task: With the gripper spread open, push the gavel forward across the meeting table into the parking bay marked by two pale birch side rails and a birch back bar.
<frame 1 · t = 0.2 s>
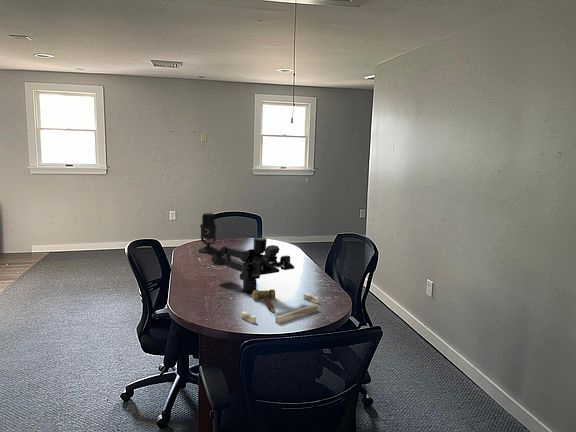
hand: (286, 269, 204), 17 cm above the table, tool horizontal, fingers open, 9 cm apart
gavel: (267, 306, 206), on the table
wooden bars: (281, 310, 200), on the table
microphone: (208, 251, 307), on the table
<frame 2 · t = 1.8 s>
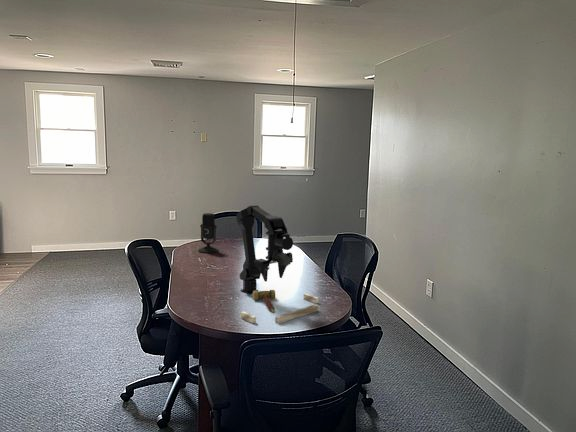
hand: (273, 279, 207), 11 cm above the table, tool pointing down, fingers open, 9 cm apart
nothing on the table moved.
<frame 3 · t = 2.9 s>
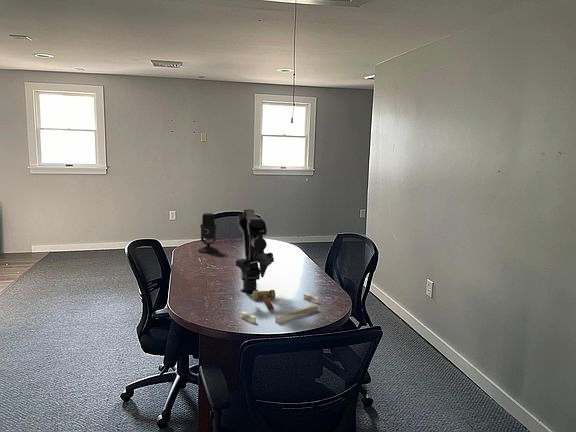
hand: (254, 279, 212), 10 cm above the table, tool pointing down, fingers open, 9 cm apart
nothing on the table moved.
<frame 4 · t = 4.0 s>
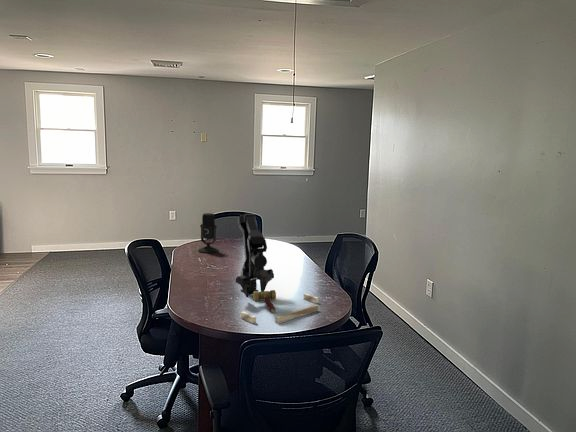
hand: (254, 295, 212), 2 cm above the table, tool pointing down, fingers open, 9 cm apart
gavel: (268, 306, 206), on the table, touching gripper
everything else where it was.
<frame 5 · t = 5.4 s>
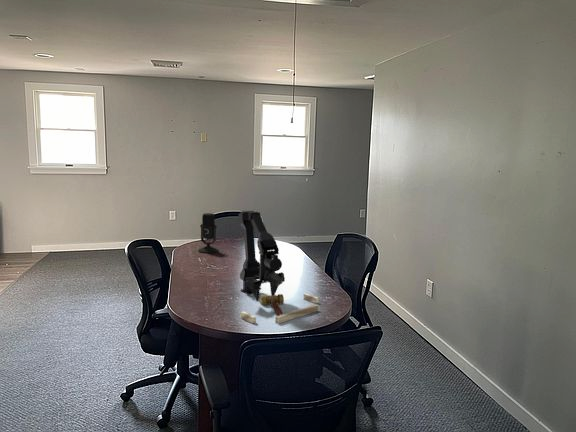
hand: (265, 299, 207), 2 cm above the table, tool pointing down, fingers open, 9 cm apart
gavel: (275, 311, 200), on the table, touching gripper
everything else where it was.
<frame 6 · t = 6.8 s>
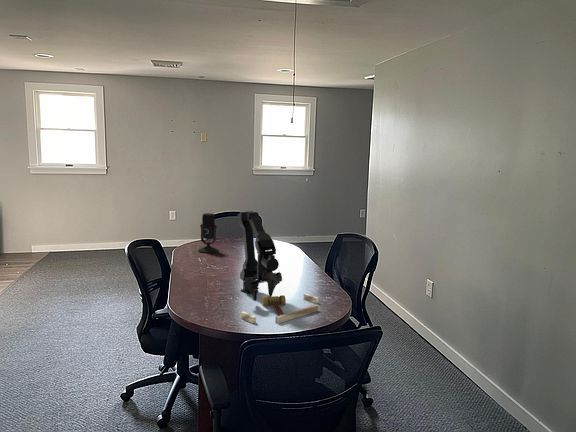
hand: (262, 298, 209), 2 cm above the table, tool pointing down, fingers open, 9 cm apart
gavel: (277, 312, 199), on the table
everything else where it was.
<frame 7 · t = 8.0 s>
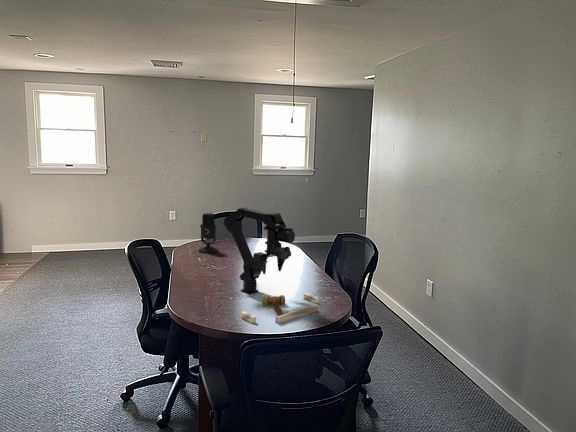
hand: (272, 272, 216), 12 cm above the table, tool pointing down, fingers open, 9 cm apart
nothing on the table moved.
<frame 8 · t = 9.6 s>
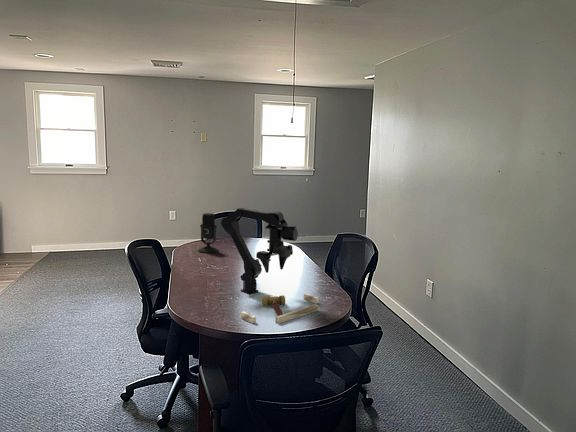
hand: (274, 270, 218), 12 cm above the table, tool pointing down, fingers open, 9 cm apart
nothing on the table moved.
at the end: gavel inside the target area on the wooden bars (2.3 cm from its centre), point -0.7 cm above the wooden bars's base; gavel moved 9.2 cm from its start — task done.
